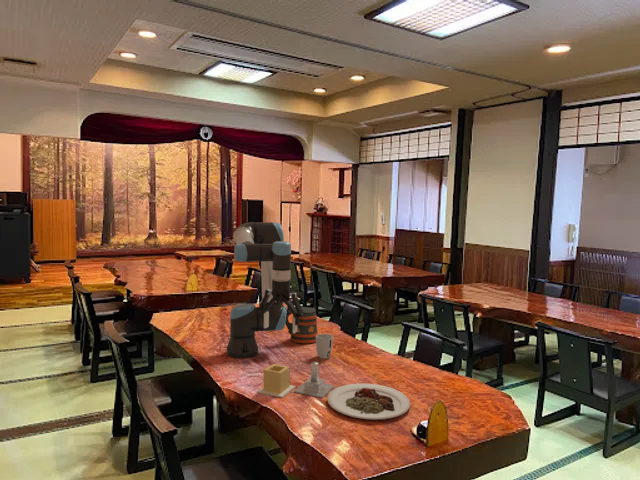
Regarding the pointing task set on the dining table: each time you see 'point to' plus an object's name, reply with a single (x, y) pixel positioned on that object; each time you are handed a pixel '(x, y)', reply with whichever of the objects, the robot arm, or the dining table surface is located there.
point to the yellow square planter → (276, 378)
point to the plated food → (368, 401)
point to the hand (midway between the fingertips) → (280, 330)
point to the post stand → (314, 384)
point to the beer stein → (304, 326)
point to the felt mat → (277, 393)
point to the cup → (324, 345)
